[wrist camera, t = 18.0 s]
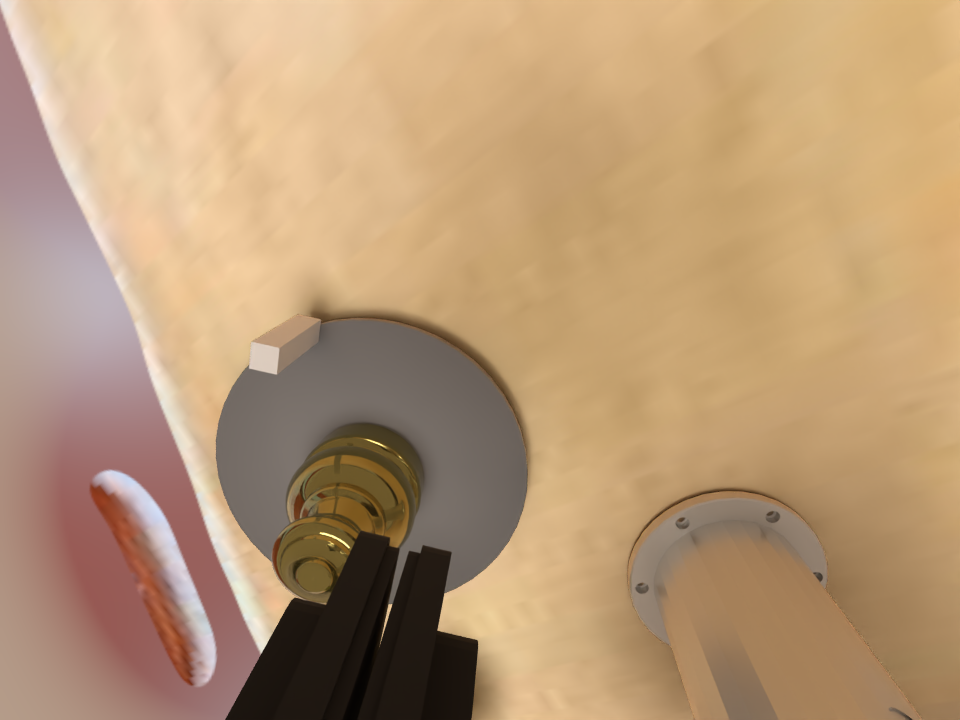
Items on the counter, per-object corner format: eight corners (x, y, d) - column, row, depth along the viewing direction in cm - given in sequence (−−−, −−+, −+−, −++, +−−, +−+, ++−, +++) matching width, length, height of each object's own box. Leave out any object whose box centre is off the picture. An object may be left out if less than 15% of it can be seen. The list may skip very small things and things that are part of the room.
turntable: (561, 358, 34) (571, 400, 27) (490, 623, 40) (484, 708, 33) (233, 285, 34) (165, 309, 27) (212, 560, 40) (153, 634, 33)
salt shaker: (303, 420, 35) (223, 509, 26) (422, 419, 35) (385, 510, 25) (318, 523, 37) (248, 640, 28) (430, 524, 37) (398, 644, 27)
